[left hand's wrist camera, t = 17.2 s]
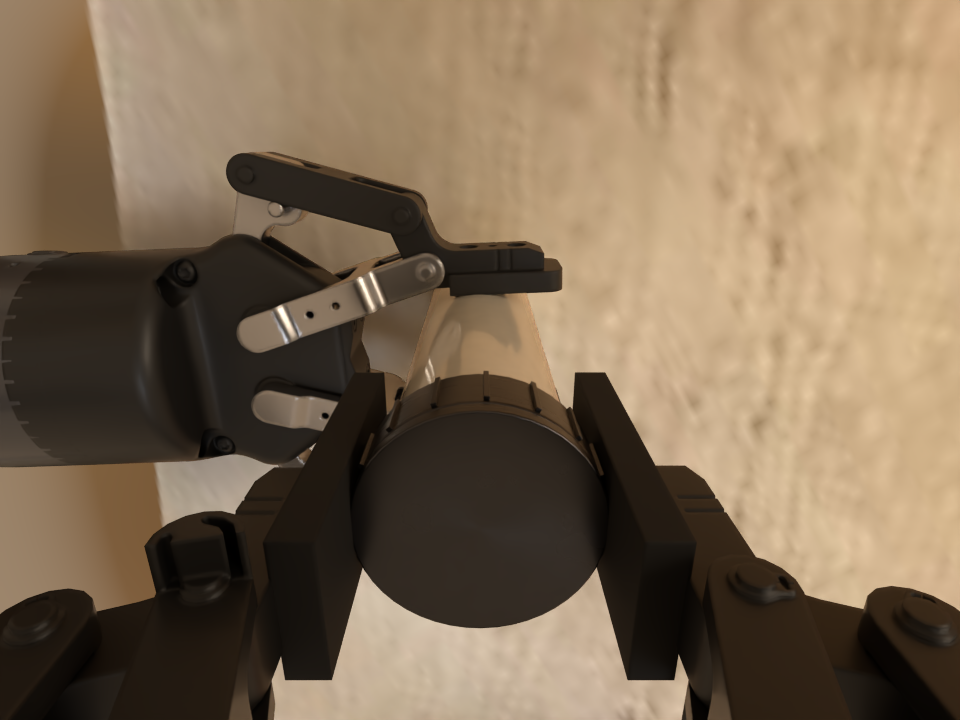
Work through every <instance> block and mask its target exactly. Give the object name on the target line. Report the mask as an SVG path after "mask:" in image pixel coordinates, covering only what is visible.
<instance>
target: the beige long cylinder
mask: <svg viewBox="0 0 960 720" xmlns="http://www.w3.org/2000/svg"><path fill="white" fill-rule="evenodd" d="M483 371H489V374H492V375H499V376H505V377H510V378H514V379H517V380H520V381H524V382H526V383H528V384H530V383H531V381H533V382H535V383H536V385H537V388H539V389H541V390H543V391H544V392H546V393H548V394H549V395H551V396H552V397H554V398H555V399H556V400H557V401H559V398H558V395H557V392H556V388H555V385H554V382H553V379H552V375H551V372H550V369H549V365H548V362H547V359H546V356H545V352H544V349H543V346H542V343H541V339H540V336H539V333H538V329H537V326H536V323H535V320H534V316H533V313H532V310H531V307H530V303H529V300H528V297H527V294H526V293H515V294H491V295H467V296H450V288H435V289H434V292H433V295H432V299H431V302H430V305H429V308H428V312H427V315H426V318H425V321H424V325H423V328H422V331H421V334H420V338H419V341H418V344H417V347H416V351H415V354H414V357H413V360H412V363H411V367H410V370H409V373H408V376H407V380H406V383H405V386H404V389H403V393H402V396H401V399H400V401H402V400H403V399H404V398H405V397H407V396H409V395H410V394H412V393H413V392H415V391H416V390H418V389H420V388H422V387H424V386H426V385H428V384H430V383H433V382H434V381H435V378H437V377H440V378H441V380H442V379H445V378H449V377H454V376H459V375H469V374H483ZM559 402H560V401H559Z"/></svg>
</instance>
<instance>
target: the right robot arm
mask: <svg viewBox="0 0 960 720" xmlns="http://www.w3.org/2000/svg"><path fill="white" fill-rule="evenodd" d="M226 175H227V179H228V181H229V183H230V185H231V186H232V187H233V188H234V189H235V190H236V191H237V200H236V209H235V219H234V228H233V234H232V235H228V236H225V237H223V238H221V239H219V240H218V241H217V242H215V243H214V244H212V245H211V246H208V247H201V248H178V249H154V250H130V251H106V252H82V253H68V252H64V251H34V252H32V253H29V254H27V255H10V256H0V467H37V466H67V465H97V464H122V463H151V462H179V461H197V460H204V459H209V458H214V457H219V456H224V455H230V454H238V455H243V456H247V457H250V458H253V459H256V460H258V461H260V462H263V463H266V464H272V465H279V467H304V465H305V463H306V461H307V459H308V457H309V455H310V454H311V452H312V451H311V450H310V449H309V448H310V447H311V446H312V445H314V444H315V443H316V442H317V441H318V439H319V437H320V435H321V433H322V431H323V430H324V428H325V426H326V424H327V422H328V420H329V418H330V417H331V415H332V413H333V411H334V409H335V407H336V405H337V404H338V402H339V400H340V398H341V396H342V394H343V393H344V391H345V389H346V387H347V385H348V383H349V381H350V380H351V378H352V376H353V374H354V373H384V375H385V391H386V407H387V415H388V413H389V412H390V411H391V410H392V408H393V405H394V402H395V401H396V400H397V399H399V400H400V399H401V396H402V393H403V389H404V386H405V383H406V382H405V381H403V380H402V379H401V378H400V377H399V376H397V375H395V374H391V373H387V372H383V371H378V370H374V369H370V362H369V358H368V355H367V353H366V350H365V348H364V345H363V343H362V340H361V337H362V331H363V325H364V316H366V315H369V314H371V313H374V312H376V311H378V310H379V309H381V308H382V307H384V306H386V305H389V304H392V303H395V302H398V301H401V300H404V299H407V298H410V297H412V296H415V295H418V294H421V293H424V292H427V291H430V290H433V289H435V288H450V296H467V295H491V294H515V293H539V292H555V291H559V290H561V289H562V267H561V265H560V264H559V262H558V260H556V259H550V258H544V253H543V251H542V249H541V247H540V246H538V245H535V244H532V243H529V242H527V241H514V242H491V243H467V244H453V243H450V242H447V241H445V240H444V239H442V238H441V237H440V236H439V234H438V233H437V231H436V229H435V227H434V225H433V223H432V220H431V218H430V216H429V213H428V211H427V210H428V207H427V202H426V200H425V198H424V197H423V195H422V194H420V193H419V192H417V191H415V190H411V189H408V188H404V187H400V186H397V185H393V184H389V183H386V182H382V181H378V180H375V179H371V178H367V177H364V176H360V175H356V174H353V173H349V172H345V171H342V170H338V169H334V168H331V167H327V166H323V165H320V164H316V163H312V162H309V161H305V160H301V159H298V158H294V157H290V156H287V155H283V154H279V153H276V152H251V153H241V154H237V155H235V156H233V157H232V158H231V159H230V160H229V162H228V164H227V167H226ZM308 212H312V213H316V214H319V215H323V216H327V217H331V218H334V219H338V220H342V221H346V222H350V223H353V224H357V225H361V226H365V227H368V228H372V229H376V230H380V231H384V232H387V233H391V235H392V237H393V240H394V242H395V244H396V246H397V248H398V250H399V252H396V253H393V254H390V255H387V256H384V257H377V258H374V259H371V260H368V261H365V262H362V263H359V264H356V265H353V266H351V267H348V268H345V269H342V270H339V271H336V272H333V273H330V272H328V271H327V270H325V269H324V268H322V267H320V266H319V265H317V264H316V263H314V262H312V261H311V260H309V259H307V258H306V257H304V256H303V255H301V254H299V253H298V252H296V251H295V250H293V249H291V248H290V247H288V246H286V245H285V244H283V243H282V242H280V241H278V240H277V239H275V238H273V237H272V236H270V235H271V231H272V229H273V228H274V227H275V226H276V225H280V226H289V225H292V224H294V223H297V222H299V221H301V220H303V219H304V218H305V217H306V216H307V214H308ZM556 392H557V390H556ZM557 395H558V393H557ZM558 398H559V396H558ZM559 401H560V400H559Z"/></svg>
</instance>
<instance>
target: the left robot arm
mask: <svg viewBox="0 0 960 720" xmlns="http://www.w3.org/2000/svg"><path fill="white" fill-rule="evenodd" d="M573 412H574V415H575V418H576V421H577V422H578V424H579V425H580V426H581V428H582V430H583V432H584V434H585V436H586V438H587V440H588V443H589V444H591V443H593V445H594V448H595V451H596V453H597V456H598V459H599V461H600V464H601V467H602V469H603V472H604V475H605V478H606V479H603V480H602V482H603V485H604V488H605V491H606V494H607V497H608V504H609V517H608V529H607V539H606V546H605V549H604V553H603V555H602V557H601V559H600V561H599V563H598V565H597V570H598V574H599V577H600V581H601V585H602V588H603V592H604V595H605V599H606V603H607V606H608V610H609V614H610V617H611V621H612V625H613V628H614V632H615V636H616V639H617V643H618V647H619V650H620V654H621V658H622V661H623V665H624V669H625V672H626V676H627V679H628V680H674V679H675V673H676V667H677V660H678V654H679V656H680V659H681V661H682V664H683V666H684V669H685V671H686V674H687V677H688V679H689V681H688V687H687V692H686V698H685V704H684V709H683V715H682V720H960V611H959V610H957V609H956V608H955V607H953V606H951V605H949V604H947V603H945V602H943V601H942V600H940V599H938V598H936V597H934V596H932V595H929V594H926V593H923V592H920V591H917V590H914V589H910V588H902V587H895V586H889V587H883V588H877V589H875V590H874V591H873V592H872V593H870V594H869V595H868V596H867V600H866V603H865V606H864V609H860V608H855V607H851V606H847V605H842V604H838V603H833V602H829V601H825V600H820V599H817V598H814V597H810V596H807V595H805V594H804V592H803V590H802V588H801V587H800V585H799V584H798V582H797V581H796V579H794V578H793V577H792V576H791V575H790V574H788V573H787V572H786V571H785V570H783V569H782V568H780V567H778V566H776V565H774V564H772V563H770V562H768V561H766V560H764V559H760V558H757V557H755V555H754V554H753V552H752V550H751V549H750V547H749V546H748V544H747V543H746V541H745V540H744V538H743V537H742V535H741V534H740V532H739V531H738V529H737V528H736V526H735V525H734V523H733V522H732V520H731V519H730V517H729V516H728V514H727V513H726V512H724V508H723V507H722V505H721V504H720V502H719V501H718V499H715V495H714V493H713V492H712V490H711V489H710V487H709V486H708V484H707V483H706V481H705V480H704V479H703V478H702V477H700V476H699V475H697V474H696V473H695V472H693V471H692V470H690V469H689V468H688V467H686V466H655V464H654V462H653V460H652V458H651V457H650V455H649V453H648V451H647V449H646V447H645V445H644V444H643V442H642V440H641V438H640V436H639V434H638V432H637V431H636V429H635V427H634V425H633V423H632V421H631V420H630V418H629V416H628V414H627V412H626V410H625V408H624V407H623V405H622V403H621V401H620V399H619V397H618V395H617V394H616V392H615V390H614V388H613V386H612V384H611V383H610V381H609V379H608V377H607V375H606V373H575V382H574V398H573ZM386 416H387V407H386V391H385V375H384V373H354V374H353V376H352V378H351V380H350V381H349V383H348V385H347V387H346V389H345V391H344V393H343V394H342V396H341V398H340V400H339V402H338V404H337V405H336V407H335V409H334V411H333V413H332V415H331V417H330V418H329V420H328V422H327V424H326V426H325V428H324V430H323V431H322V433H321V435H320V437H319V439H318V441H317V442H316V444H315V446H314V448H313V450H312V452H311V454H310V455H309V457H308V459H307V461H306V463H305V465H304V467H274V468H273V469H272V470H270V471H269V472H267V473H266V474H265V475H263V476H262V477H261V478H259V479H258V480H256V481H255V482H254V484H253V486H252V487H251V489H250V490H249V492H248V493H247V495H246V496H245V500H244V501H242V502H241V504H240V505H239V507H238V508H237V510H236V514H231V513H227V512H223V511H208V512H201V513H196V514H192V515H188V516H185V517H182V518H180V519H178V520H176V521H173V522H171V523H169V524H167V525H166V526H164V527H163V528H161V529H160V530H159V531H157V532H156V533H155V534H153V536H152V537H151V538H150V539H149V541H148V542H147V543H146V545H145V546H144V547H145V551H146V554H147V558H148V562H149V566H150V570H151V574H152V578H153V582H154V586H155V590H156V595H155V597H154V598H151V599H147V600H144V601H141V602H137V603H132V604H128V605H124V606H119V607H115V608H111V609H106V610H102V611H97V612H96V609H95V605H94V602H93V599H92V598H91V597H90V596H89V595H88V594H87V593H85V592H84V591H80V590H74V589H62V590H54V591H48V592H45V593H42V594H39V595H36V596H33V597H30V598H27V599H25V600H23V601H22V602H20V603H18V604H16V605H14V606H12V607H10V608H8V609H6V610H5V611H4V612H2V613H1V614H0V720H274V711H275V699H274V693H273V687H272V678H273V675H274V673H275V670H276V668H277V665H278V662H279V660H280V657H281V658H282V664H283V670H284V676H285V680H332V677H333V674H334V670H335V666H336V663H337V659H338V656H339V652H340V648H341V645H342V641H343V637H344V634H345V630H346V626H347V623H348V619H349V615H350V612H351V608H352V604H353V601H354V597H355V593H356V590H357V586H358V582H359V579H360V575H361V572H362V568H363V567H362V565H361V563H360V561H359V559H358V557H357V555H356V552H355V549H354V544H353V535H352V524H351V513H350V504H351V498H352V495H353V491H354V488H355V485H356V482H357V479H358V477H359V474H360V471H361V469H360V468H358V465H359V462H360V459H361V457H362V454H363V452H364V449H365V446H366V444H367V441H368V438H369V436H370V434H371V433H373V434H375V432H376V430H377V429H378V427H379V425H380V424H381V422H382V421H383V419H384V418H385V417H386Z"/></svg>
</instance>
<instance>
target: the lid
mask: <svg viewBox="0 0 960 720" xmlns="http://www.w3.org/2000/svg"><path fill="white" fill-rule="evenodd" d="M358 468H360V469H361V471H360V474H359V477H358V479H357V482H356V485H355V488H354V491H353V495H352V498H351V504H350V513H351V524H352V535H353V544H354V549H355V552H356V555H357V557H358V559H359V561H360V563H361V565H362V567H363V569H364V570H365V572H366V573H367V574H368V576H369V577H370V579H371V580H372V581H373V582H374V583H375V585H376V586H377V587H378V588H379V589H380V590H381V591H382V592H383V593H384V594H386V595H387V596H388V597H389V598H390V599H392V600H393V601H394V602H396V603H397V604H399V605H400V606H402V607H403V608H405V609H407V610H409V611H411V612H413V613H415V614H417V615H419V616H421V617H424V618H426V619H429V620H432V621H435V622H439V623H443V624H447V625H451V626H458V627H465V628H492V627H501V626H507V625H513V624H517V623H520V622H524V621H528V620H530V619H533V618H535V617H538V616H540V615H543V614H545V613H547V612H548V611H550V610H552V609H554V608H556V607H557V606H559V605H560V604H562V603H563V602H565V601H566V600H568V599H569V598H570V597H571V596H572V595H574V594H575V593H576V592H577V591H578V590H579V589H580V588H581V587H582V586H583V585H584V584H585V582H586V581H587V580H588V579H589V578H590V576H591V575H592V573H593V572H594V570H595V569H596V567H597V565H598V563H599V561H600V559H601V557H602V555H603V553H604V549H605V546H606V539H607V529H608V517H609V504H608V497H607V494H606V491H605V488H604V485H603V482H602V480H603V479H606V478H605V475H604V472H603V469H602V467H601V464H600V461H599V459H598V456H597V453H596V451H595V448H594V445H593V443H591V444H589V443H588V440H587V438H586V436H585V434H584V432H583V430H582V428H581V426H580V425H579V424H578V422H577V421H576V418H575V415H574V412H573V410H572V409H571V407H569V408H568V409H566V408H565V407H564V406H563V405H562V404H561V403H560V402H559V401H557V400H556V399H555V398H554V397H552V396H551V395H549V394H548V393H546V392H544V391H543V390H541V389H539V388H537V385H536V383H535V382H533V381H531V383H530V384H528V383H526V382H524V381H520V380H517V379H514V378H510V377H505V376H499V375H492V374H489V371H483V374H469V375H459V376H454V377H449V378H445V379H442V380H441V378H440V377H437V378H435V381H434V382H433V383H430V384H428V385H426V386H424V387H422V388H420V389H418V390H416V391H415V392H413V393H412V394H410V395H409V396H407V397H405V398H404V399H403V400H402V401H400V400H399V399H397V400H396V401H395V402H394V405H393V408H392V410H391V411H390V412H389V413H388V415H387V416H386V417H385V418H384V419H383V421H382V422H381V424H380V425H379V427H378V429H377V430H376V432H375V434H373V433H371V434H370V436H369V438H368V441H367V444H366V446H365V449H364V452H363V454H362V457H361V459H360V462H359V465H358Z"/></svg>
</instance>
